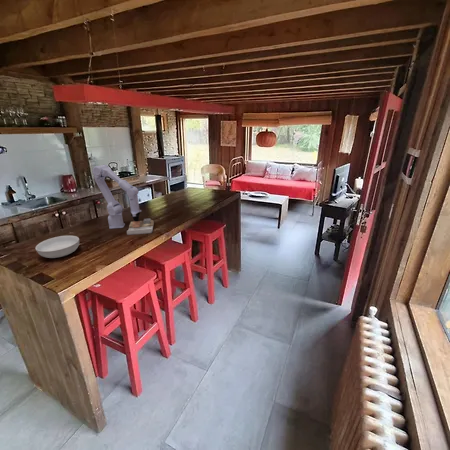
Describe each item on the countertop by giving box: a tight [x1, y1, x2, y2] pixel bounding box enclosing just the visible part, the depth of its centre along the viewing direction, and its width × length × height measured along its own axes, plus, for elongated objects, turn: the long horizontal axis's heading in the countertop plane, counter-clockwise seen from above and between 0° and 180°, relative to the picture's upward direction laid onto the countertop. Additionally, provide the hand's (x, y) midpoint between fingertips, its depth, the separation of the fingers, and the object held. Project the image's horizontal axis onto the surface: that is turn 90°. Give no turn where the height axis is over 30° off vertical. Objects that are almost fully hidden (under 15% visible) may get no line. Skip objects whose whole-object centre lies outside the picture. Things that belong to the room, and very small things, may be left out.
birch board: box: [128, 219, 155, 229], centre depth 183 cm, size 16×10×2 cm, turn 101°
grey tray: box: [126, 225, 154, 236], centre depth 174 cm, size 16×9×3 cm, turn 101°
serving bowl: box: [34, 235, 80, 259], centre depth 143 cm, size 21×21×7 cm
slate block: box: [143, 218, 152, 224], centre depth 183 cm, size 4×4×2 cm
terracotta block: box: [132, 220, 141, 227], centre depth 177 cm, size 4×4×2 cm
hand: (136, 223), depth 180 cm, fingers closed
